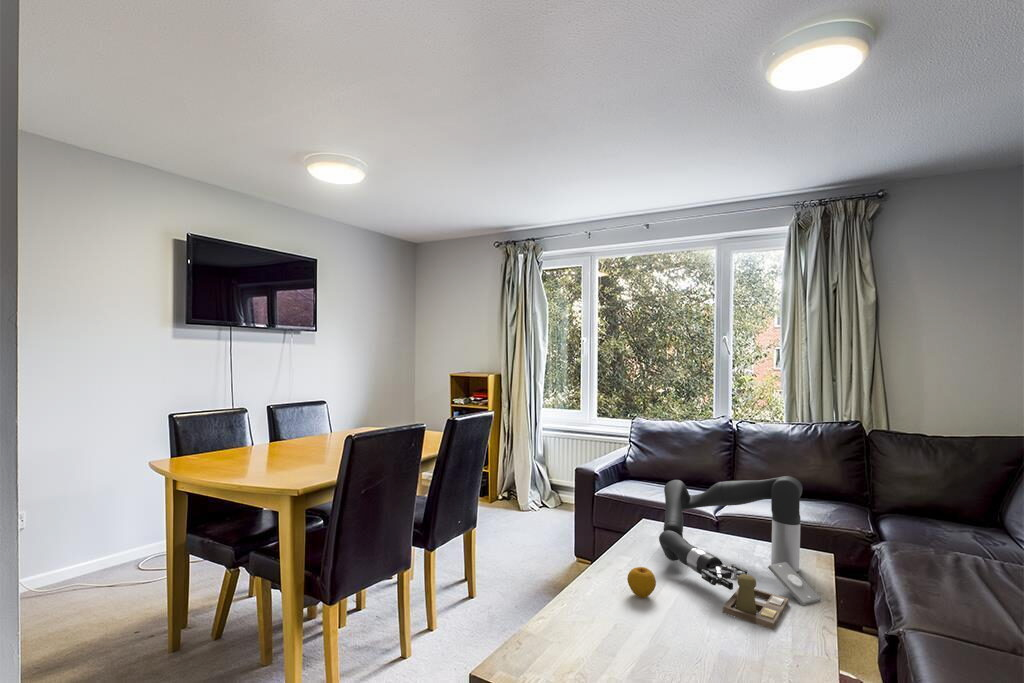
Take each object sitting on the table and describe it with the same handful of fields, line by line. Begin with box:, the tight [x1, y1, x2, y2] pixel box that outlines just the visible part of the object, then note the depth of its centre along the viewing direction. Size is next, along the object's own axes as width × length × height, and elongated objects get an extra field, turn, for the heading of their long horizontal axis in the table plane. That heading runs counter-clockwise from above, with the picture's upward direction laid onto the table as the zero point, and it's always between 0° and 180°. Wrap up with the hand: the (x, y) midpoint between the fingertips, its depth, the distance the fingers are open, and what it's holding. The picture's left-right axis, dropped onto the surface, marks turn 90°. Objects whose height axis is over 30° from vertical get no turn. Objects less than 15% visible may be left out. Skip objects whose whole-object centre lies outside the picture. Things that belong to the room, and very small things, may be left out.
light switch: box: [767, 562, 822, 606], centre depth 170 cm, size 8×6×14 cm
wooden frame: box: [722, 587, 789, 630], centre depth 159 cm, size 20×14×2 cm
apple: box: [626, 566, 657, 599], centre depth 165 cm, size 9×9×9 cm
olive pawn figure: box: [734, 573, 758, 616], centre depth 157 cm, size 6×6×11 cm
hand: (742, 584), depth 159 cm, fingers open, 8 cm apart
